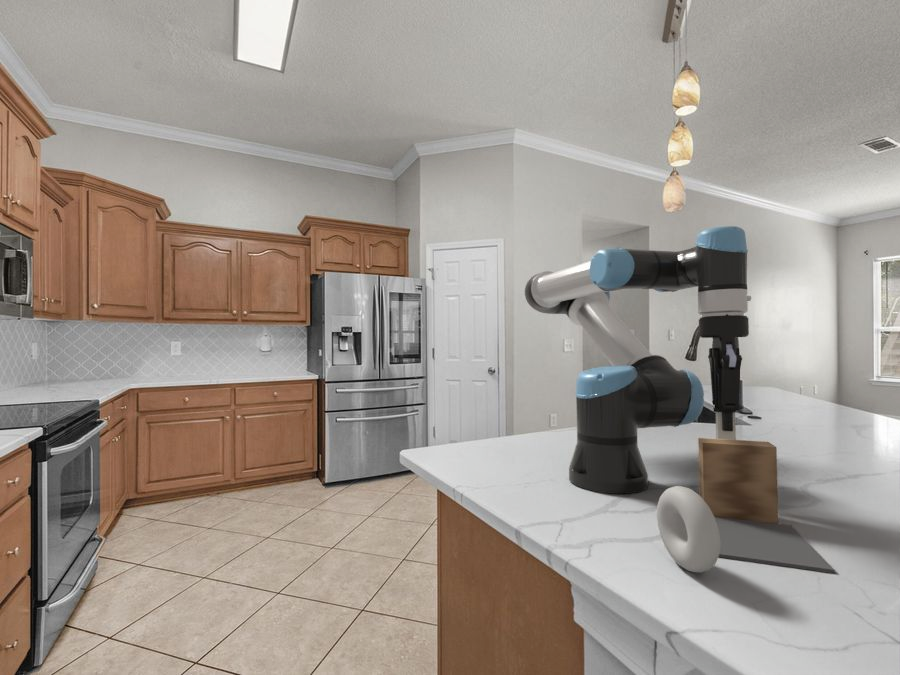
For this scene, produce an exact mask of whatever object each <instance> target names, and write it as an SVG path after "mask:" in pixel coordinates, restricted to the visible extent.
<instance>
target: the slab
mask: <svg viewBox="0 0 900 675" xmlns="http://www.w3.org/2000/svg"><path fill="white" fill-rule="evenodd" d="M697 442H698V443H697V444H698V446H697V448H698V479H699V480H698V485H699V486H698V488H699V489H698V491H699V494H698V495H700V496H701V497H702V498H703V500H704V501H705V502H706V504H707V505H708V506H709V508H710V510H711V512H712V513H713V515H714V517H723V518H732V519H741V520H750V521H759V522H768V523H777V524H779V500H778V498H779V495H778V490H779V489H778V458H777V457H778V456H777V454H778V453H777V446H775V445H774V444H772V443H771V442H769V441H761V440H742V439H736V440H729V439H716V438H709V437H698V440H697Z"/></svg>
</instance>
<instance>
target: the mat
mask: <svg viewBox="0 0 900 675" xmlns="http://www.w3.org/2000/svg"><path fill="white" fill-rule="evenodd" d="M715 520H716V523H717V526H718V529H719V535H720V554H719V557H718V558H722V559H725V558H726V559H731V560H739V561H747V562H753V563H760V564H766V565H767V564H768V565H772V566H773V565H774V566H780V567H781V566H782V567H788V568H795V569H803V570H810V571H815V572H824V573H831V574H835V573H836V570H835V569H834V567H833V566H832V565H831V564H829V562H828V561H826V560H825V558H824V557H823V556H822V555H821V554H820V553H819V552H818V551H817V550H816V549H815V548H814V546H812V545H811V543H809V542H808V541H807V540H806V539H805V538H804V536H802V535H801V533H800V532H799V531H797V529H796V528H795V527H794V526H793V525H792V524H784V523H778V524H777V523H768V522H759V521H750V520H741V519H732V518H723V517H715Z"/></svg>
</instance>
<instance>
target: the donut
mask: <svg viewBox="0 0 900 675" xmlns="http://www.w3.org/2000/svg"><path fill="white" fill-rule="evenodd" d="M656 520H657V527H658V530H659V534H660V538H661V541H662V543H663V545H664V547H665V549H666V550H667V552H668V554H669V556H670V558H672V559H673V561H674V562H675V563H676V564H677V565H679V566H680V567H681V568H683V569H685V570H687V571H689V572H690V573H705V572H708V571H710V569H712V568H713V567H714V566H715V565H716V564H717V561H718V558H720V557H719V554H720V535H719V529H718V526H717V523H716V520H715V517H714V515H713V513H712V512H711V510H710V508H709V506H708V505H707V504H706V502H705V501H704V500H703V498H702V497H701V496H700V495H699V494H698V493H697V492H695V491H694V490H693V489H691V488H689V487H685V486H681V485H675V486H672V487H669V488H667V489H665V490H664V492H663V493H662V494H661V495H660V497H659V499H658V501H657V507H656Z"/></svg>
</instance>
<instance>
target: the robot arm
mask: <svg viewBox="0 0 900 675" xmlns="http://www.w3.org/2000/svg"><path fill="white" fill-rule="evenodd" d="M746 240H747V238H746V231H745V230H744V229H743V228H742V227H739V226H736V225H735V226H733V225H732V226H731V225H730V226H729V225H727V226H726V225H725V226H717V227H711V228H707V229H704V230H702V231H701V232H699V233H698V234H697V236H696V242H695V246H693V247H691V248H687V249H683V250H679V251H672V250H671V251H667V250H647V249H645V250H644V249H631V248H629V249H628V248H622V247H621V248H620V247H614V248H613V247H612V248H602V249H599V250H597V251H596V252H595V255H594V256H592V257H591V260H587V261H585V262H580V263H578V264H574V265H572V266H570V267H566V268H563V269H560V270H558V271H548V270H547V271H541V272H539V273H536V274H534V275H533V276H531V277H530V278H529V280H527V282H526V285H525V288H524V296H525V300H526V302H527V304H528V305H529V306H530V307H531V308H532V309H533V310H535V311H536V312H539V313H542V314H546V315H551V314H552V315H566V316H567V317H568V319H569V320H570V321H571V322H572V324H574V325H576V326H580V327H581V326H582V328H583V329H584V331H585V332H586V333H587V334H588V336H589V338H590V339H591V340H592V341H593V342H594V344H595V345H596V346H597V348H598V349H599V351H600V352H601V353H602V355H603V356H604V357H605V358H606V360H607V361H608V362H609V364H610V365H611V366H600V367H594V368H590V369H585V370H582V371H581V372H580V373H579V374H578V375H577V377H576V385H575V392H574V394H575V398H576V438H577V439H576V445H575V448H574V451H573V455H572V458H571V460H570V463H569V467H568V480H569V481H570V483H571V484H573V485H575V486H576V487H580V488H581V489H585V490H589V491H593V492H599V493H606V494H607V493H608V494H631V493H632V494H633V493H639V492H642V491H644V490H646V489H647V488H648V487H649V475H648V471H647V469H646V466H645V463H644V461H643V456H642V455H641V450H640V449H639V446H638V445H639V444H638V429H647V428H661V427H662V428H663V427H673V428H676V427H679V426H683V425H684V426H685V425H689V424H691V423H693V422H694V421H696V420H697V419H698V418H699V416H700V415H701V413H702V411H703V408H704V404H705V399H704V396H705V393H704V392H705V391H704V387H703V384H702V382H701V381H700V378H699V377H698V376H697V375H696V374H695V373H694V372H692V371H689V370H686V369H679V370H677V369H676V368H674V366H672V365H671V363H670V362H669V361H668V360H667V359H666V358H665V357H663V356H662V355H659V354H653V353H651V352H650V351H649V350H648V348H647V347H646V346H645V345H644V344H643V343H642V342H641V341H640V340H639V339H638V338H637V336H636V335H635V334H634V333H633V331H631V329H629V327H628V326H627V325H626V324H625V323H624V321H622V319H621V318H620V317H619V316H618V315H617V314H616V312H615V311H614V310H613V309H612V308H611V307H610V306H609V304H610V298H611V296H610V295H611V294H610V293H611V292H614V291H619V290H625V289H629V290H630V289H643V290H644V289H645V290H655V291H657V292H659V293H666V292H672V293H674V292H678V291H681V290H686V289H692V288H696V287H697V313H698V314H699V315H700V316H701V317H699V319H698V336H699V338H701V339H711V338H712V344H711V347H709V349H708V356H707V358H708V361H709V362H708V363H709V369H710V370H709V371H710V381H711V382H710V383H711V398H712V399H711V403H712V405H713V412H714V413H715V439H729V440H737V436H736V435H737V433H736V432H737V431H736V430H737V429H736V413H737V411H739V409H740V385H741V383H740V382H741V367H742V360H743V357H742V355H741V354H740V348H739V347H737V343H736V338H747V337H748V336H749V334H750V333H749V332H750V330H749V328H750V327H749V323H750V322H749V317H748V316H747V315H744V314H745V313H747V312H748V309H749V308H748V307H749V305H748V302H751V300H752V296H751V295H748V280H747V279H748V272H747V271H748V252H749V250H748V248H747V241H746Z"/></svg>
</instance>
